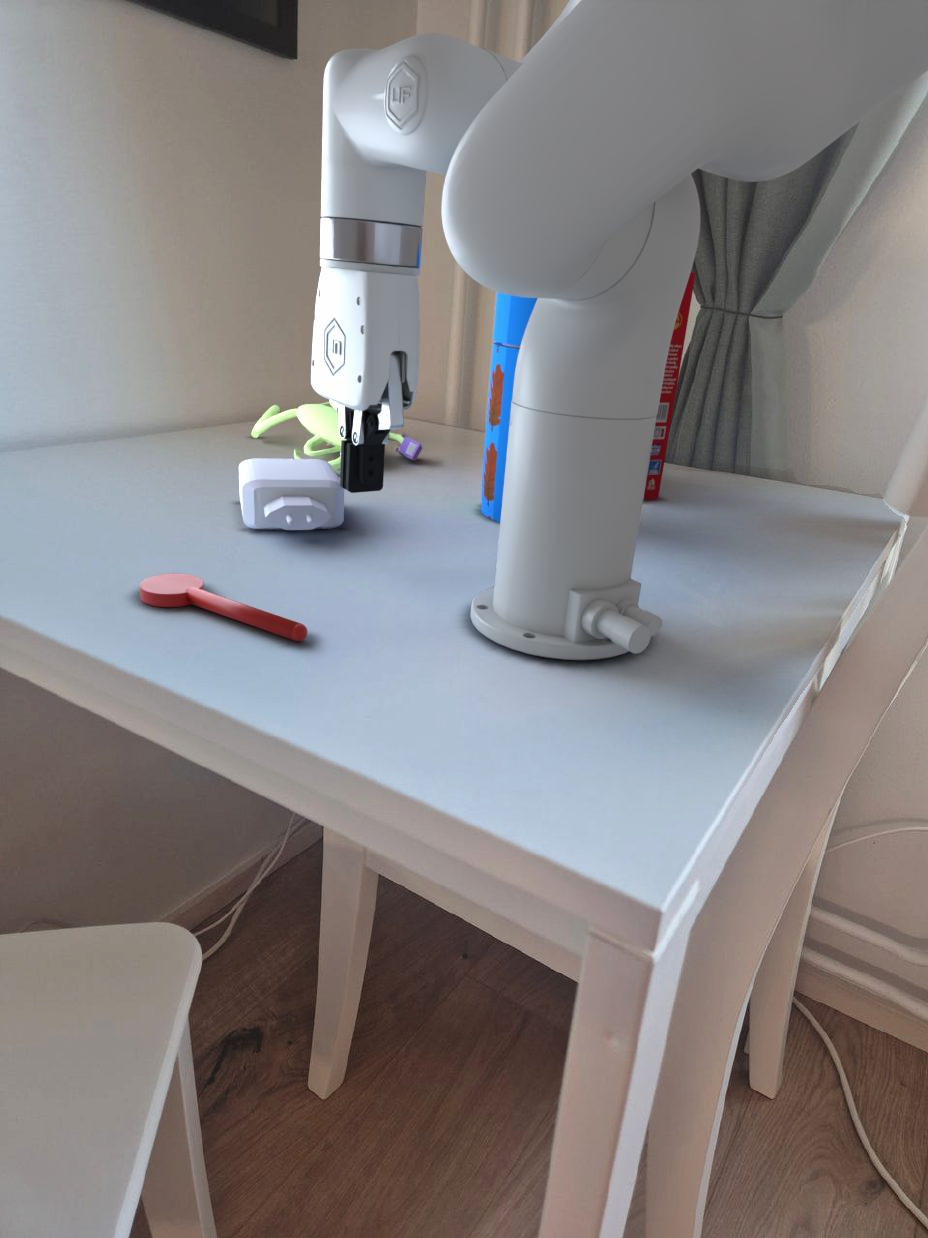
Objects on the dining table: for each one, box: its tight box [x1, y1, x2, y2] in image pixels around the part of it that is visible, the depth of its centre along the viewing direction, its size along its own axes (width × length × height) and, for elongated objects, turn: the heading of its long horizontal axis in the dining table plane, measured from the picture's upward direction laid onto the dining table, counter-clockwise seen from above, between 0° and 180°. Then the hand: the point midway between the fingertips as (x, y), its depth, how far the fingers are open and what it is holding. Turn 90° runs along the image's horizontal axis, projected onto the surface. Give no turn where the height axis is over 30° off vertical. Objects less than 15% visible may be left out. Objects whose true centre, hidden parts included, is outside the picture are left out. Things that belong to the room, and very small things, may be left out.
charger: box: [238, 457, 345, 531], centre depth 78 cm, size 5×9×15 cm
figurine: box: [250, 401, 423, 471], centre depth 110 cm, size 18×27×6 cm
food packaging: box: [643, 271, 697, 501], centre depth 99 cm, size 15×5×25 cm, turn 26°
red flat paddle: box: [139, 572, 308, 642], centre depth 58 cm, size 15×4×1 cm, turn 58°
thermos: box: [480, 292, 537, 523], centre depth 84 cm, size 11×11×25 cm
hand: (361, 488), depth 69 cm, fingers closed
